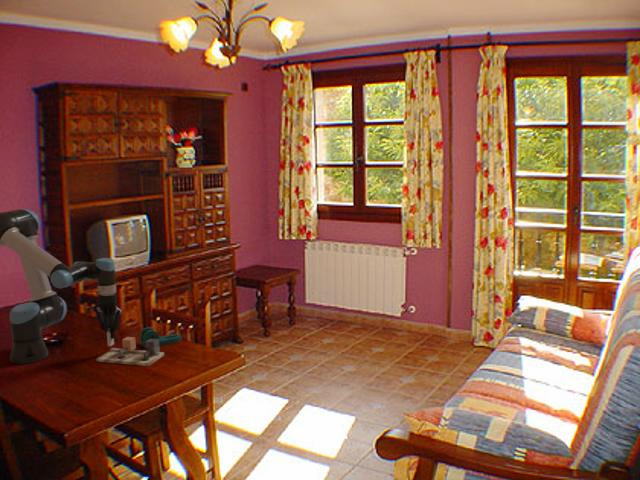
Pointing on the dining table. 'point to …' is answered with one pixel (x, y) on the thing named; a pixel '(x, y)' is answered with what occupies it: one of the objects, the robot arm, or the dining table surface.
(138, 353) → the gauge board
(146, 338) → the teal curved handle
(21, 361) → the robot arm
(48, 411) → the dining table surface
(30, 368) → the dining table surface
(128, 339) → the block
